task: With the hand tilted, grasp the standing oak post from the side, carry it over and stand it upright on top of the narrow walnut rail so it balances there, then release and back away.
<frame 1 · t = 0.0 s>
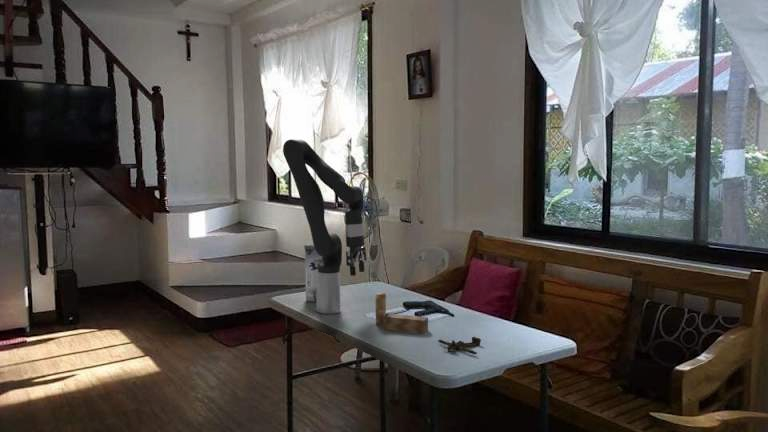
hand: (357, 273, 254), 17 cm above the table, tool pointing down, fingers open, 8 cm apart
walnut rail: (405, 329, 233), on the table
oak post: (380, 324, 241), on the table
juice carton: (317, 300, 282), on the table
gun: (426, 312, 261), on the table
brown toy figure: (462, 350, 210), on the table
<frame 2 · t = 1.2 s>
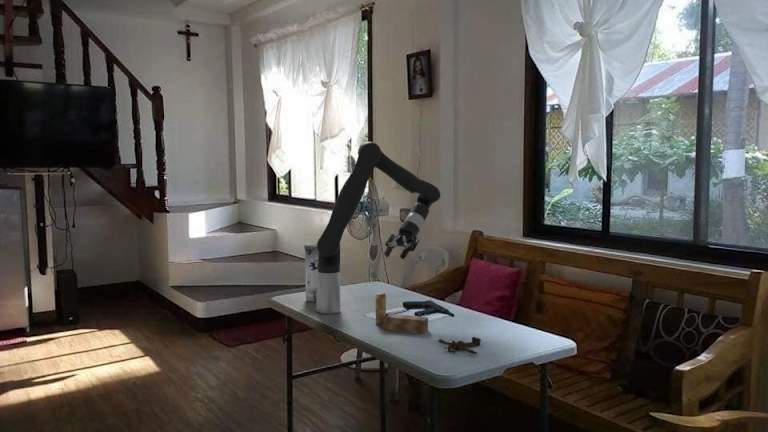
hand: (393, 256, 246), 25 cm above the table, tool tilted 45°, fingers open, 8 cm apart
nothing on the table moved.
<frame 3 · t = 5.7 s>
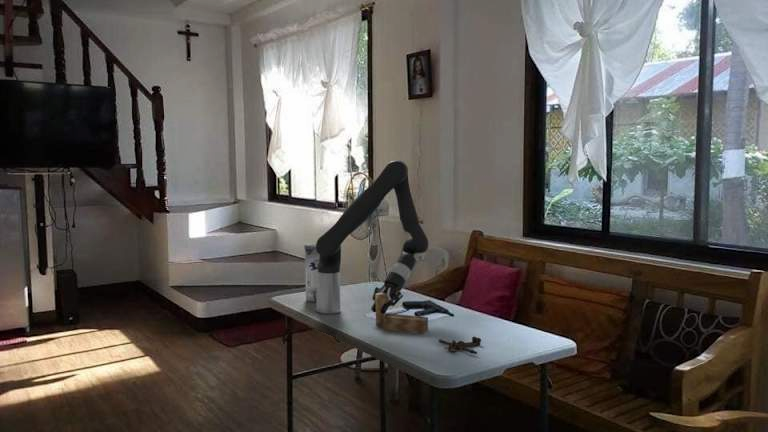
hand: (377, 311, 239), 5 cm above the table, tool tilted 45°, fingers closed on oak post, 4 cm apart
oak post: (380, 324, 241), on the table, touching gripper
everything else where it was.
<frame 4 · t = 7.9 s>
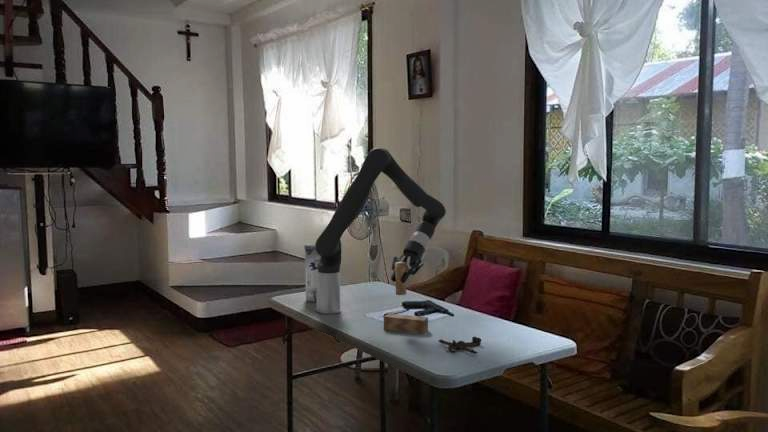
hand: (397, 281, 232), 19 cm above the table, tool tilted 45°, fingers closed on oak post, 4 cm apart
oak post: (401, 293, 234), point 13 cm above the table, touching gripper
everything else where it was.
when the fingers open (11 cm above the table, at t = 10.1 s): oak post drops 1 cm, resting on walnut rail.
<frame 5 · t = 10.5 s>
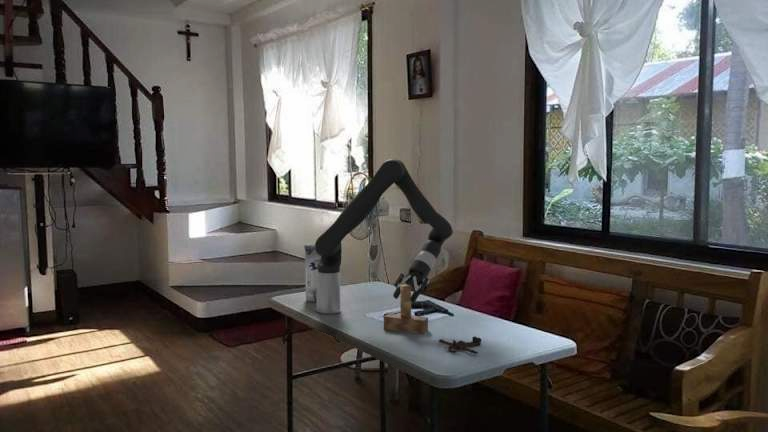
hand: (403, 299, 230), 12 cm above the table, tool tilted 45°, fingers open, 8 cm apart
oak post: (405, 316, 232), point 5 cm above the table, touching walnut rail
everything else where it was.
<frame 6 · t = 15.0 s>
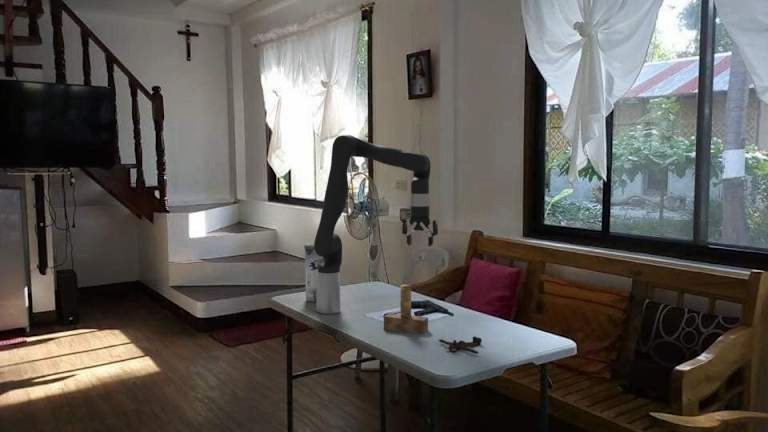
hand: (419, 245, 244), 30 cm above the table, tool pointing down, fingers open, 8 cm apart
nothing on the table moved.
at the end: oak post inside the target area on the walnut rail (0.1 cm from its centre), point 5.0 cm above the walnut rail's base; oak post tilted 0°; the gripper is holding nothing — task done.
